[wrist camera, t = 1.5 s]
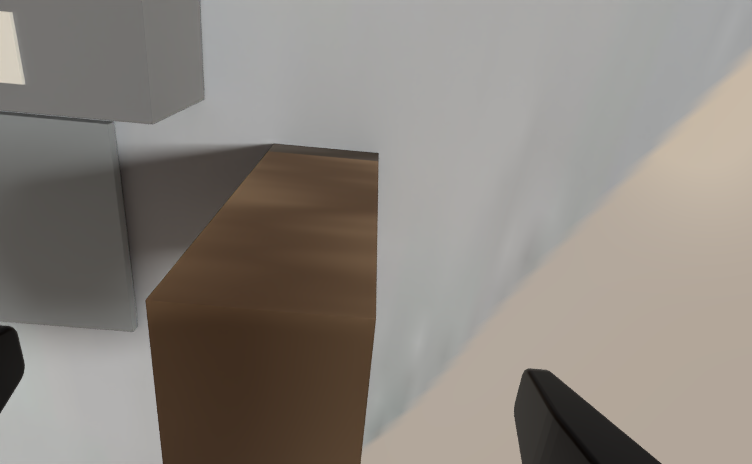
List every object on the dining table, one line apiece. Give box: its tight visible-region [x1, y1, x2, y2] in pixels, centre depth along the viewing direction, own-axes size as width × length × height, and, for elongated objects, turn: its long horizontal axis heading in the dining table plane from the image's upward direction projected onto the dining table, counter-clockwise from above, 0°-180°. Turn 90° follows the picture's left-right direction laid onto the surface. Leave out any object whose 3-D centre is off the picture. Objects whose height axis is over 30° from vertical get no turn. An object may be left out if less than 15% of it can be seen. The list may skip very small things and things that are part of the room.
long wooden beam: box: [145, 144, 379, 464], centre depth 13 cm, size 4×4×10 cm
